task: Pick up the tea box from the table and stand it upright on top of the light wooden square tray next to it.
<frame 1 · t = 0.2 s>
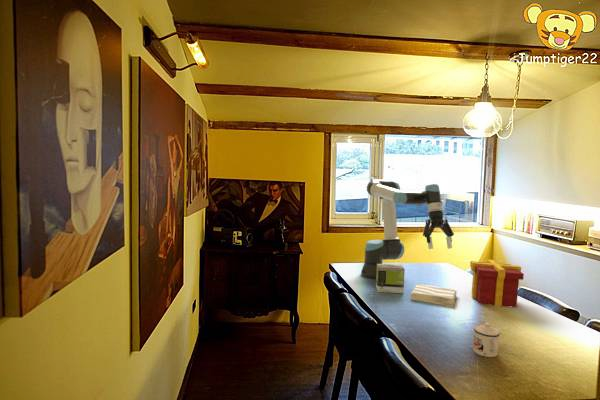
hand: (440, 248, 224), 28 cm above the table, tool tilted 20°, fingers open, 13 cm apart
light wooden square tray: (433, 297, 224), on the table
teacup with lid: (487, 354, 156), on the table
tea box: (389, 290, 235), on the table
gift box: (492, 300, 226), on the table
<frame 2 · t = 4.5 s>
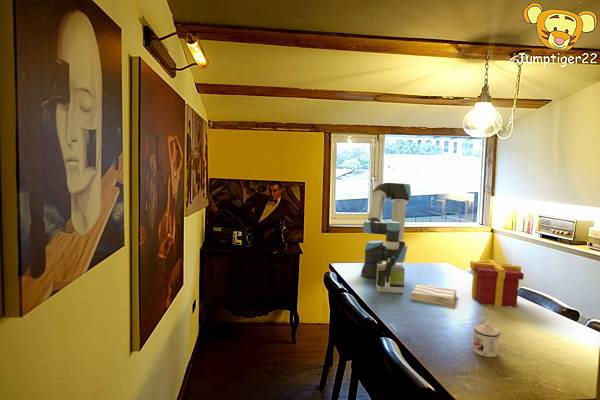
hand: (389, 285, 235), 3 cm above the table, tool pointing down, fingers closed on tea box, 11 cm apart
tea box: (389, 290, 235), on the table, touching gripper
everything else where it was.
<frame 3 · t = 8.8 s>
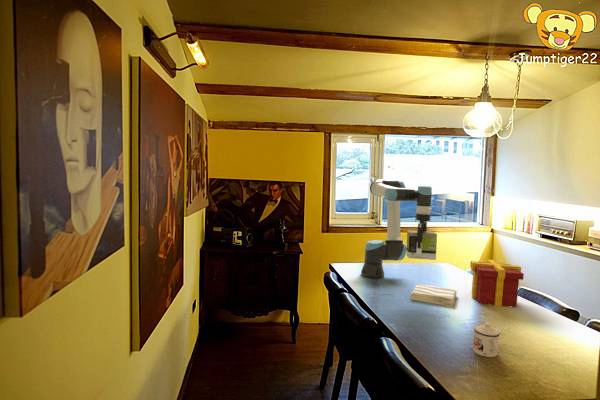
hand: (420, 252, 226), 25 cm above the table, tool pointing down, fingers closed on tea box, 11 cm apart
tea box: (420, 258, 226), point 21 cm above the table, touching gripper
everything else where it was.
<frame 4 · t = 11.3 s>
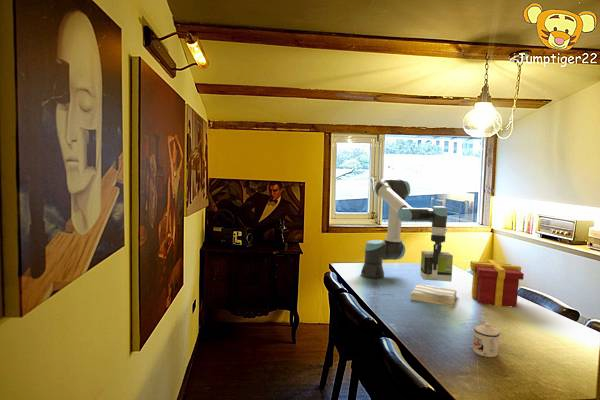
hand: (435, 273, 223), 14 cm above the table, tool pointing down, fingers closed on tea box, 11 cm apart
tea box: (435, 279, 224), point 11 cm above the table, touching gripper
everything else where it was.
when the fingers open (9 cm above the table, at t = 13.3 s): tea box drops 2 cm, resting on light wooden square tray.
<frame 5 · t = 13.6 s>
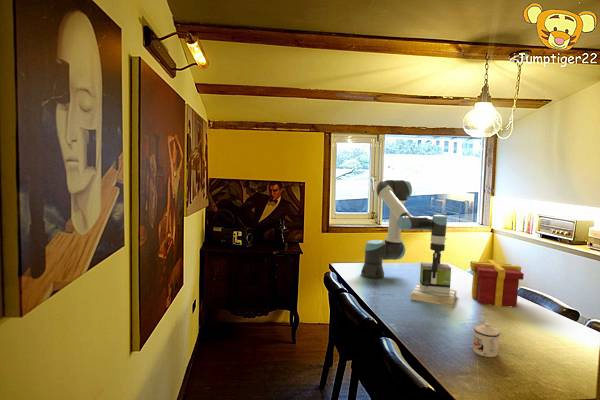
hand: (435, 280, 224), 10 cm above the table, tool pointing down, fingers open, 13 cm apart
tea box: (433, 291, 225), point 4 cm above the table, touching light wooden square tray
everything else where it was.
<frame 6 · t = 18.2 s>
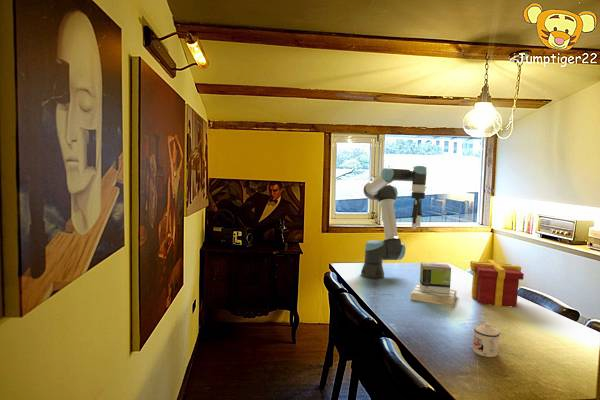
hand: (415, 227, 238), 37 cm above the table, tool pointing down, fingers open, 13 cm apart
nothing on the table moved.
at the end: tea box inside the target area on the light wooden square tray (0.4 cm from its centre), point 3.8 cm above the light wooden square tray's base; tea box tilted 0°; the gripper is holding nothing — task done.
